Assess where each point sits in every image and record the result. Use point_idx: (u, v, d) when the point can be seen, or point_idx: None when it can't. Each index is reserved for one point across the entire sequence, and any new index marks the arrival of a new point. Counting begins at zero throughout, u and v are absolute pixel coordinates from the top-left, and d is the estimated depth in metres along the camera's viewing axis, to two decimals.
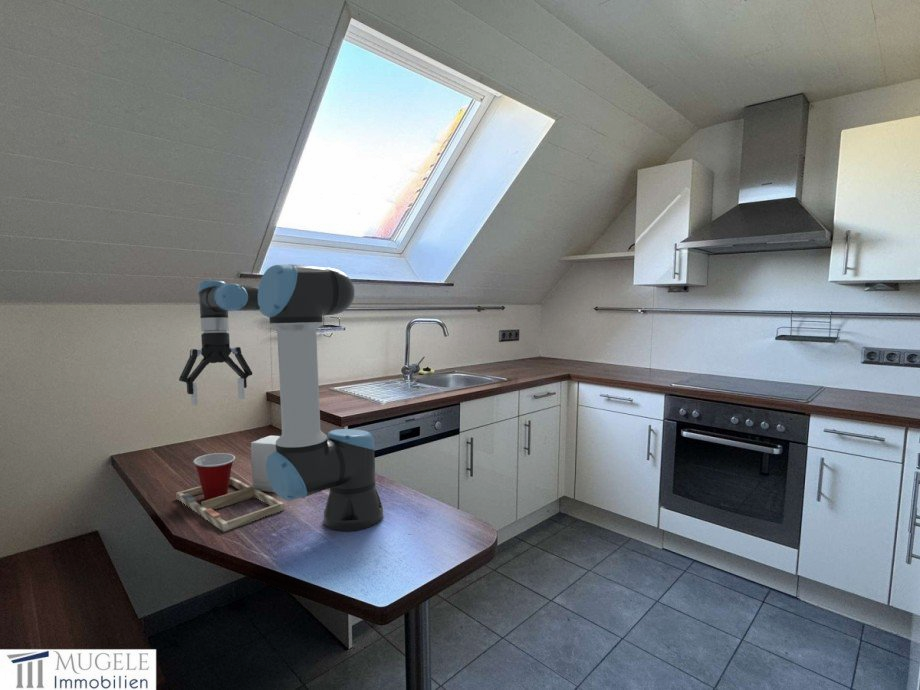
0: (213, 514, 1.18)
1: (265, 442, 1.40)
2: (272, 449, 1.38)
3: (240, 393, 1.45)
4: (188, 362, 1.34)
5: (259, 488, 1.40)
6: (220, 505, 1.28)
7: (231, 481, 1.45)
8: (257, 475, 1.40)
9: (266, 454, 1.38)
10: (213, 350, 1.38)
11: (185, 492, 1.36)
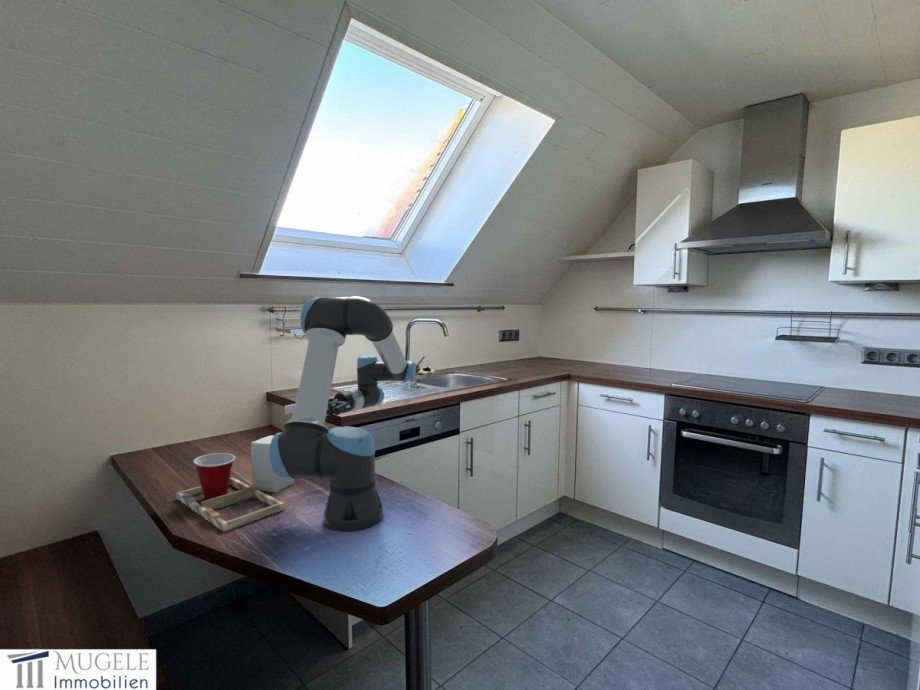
0: (213, 514, 1.18)
1: (265, 442, 1.40)
2: None
3: None
4: None
5: (259, 488, 1.40)
6: (220, 505, 1.28)
7: (231, 481, 1.45)
8: (257, 475, 1.40)
9: (266, 454, 1.38)
10: (333, 400, 1.64)
11: (185, 492, 1.36)
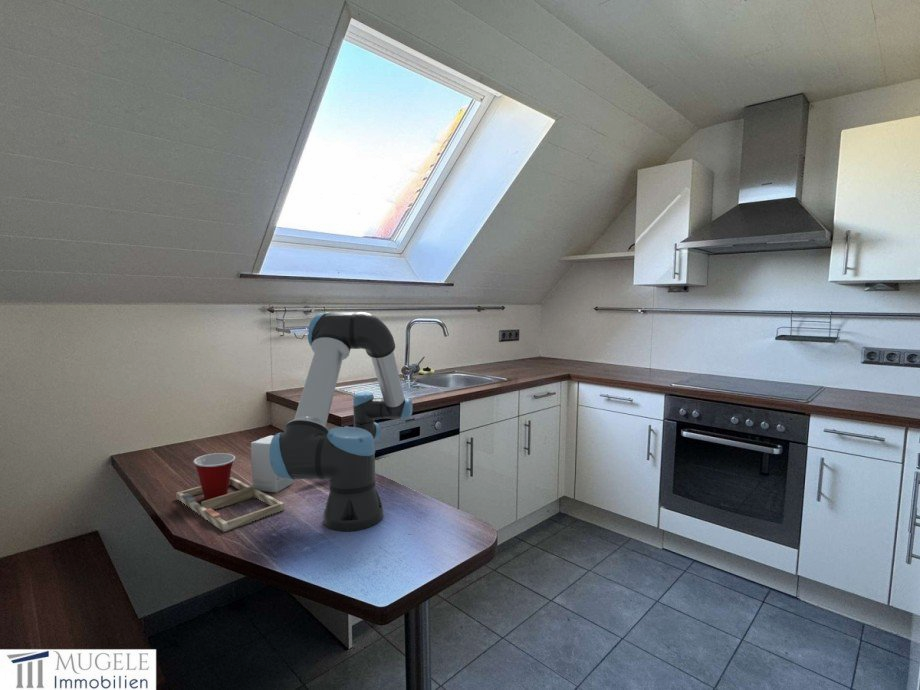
0: (213, 514, 1.18)
1: (265, 442, 1.40)
2: None
3: None
4: None
5: (259, 488, 1.40)
6: (220, 505, 1.28)
7: (231, 481, 1.45)
8: (257, 475, 1.40)
9: (266, 454, 1.38)
10: None
11: (185, 492, 1.36)
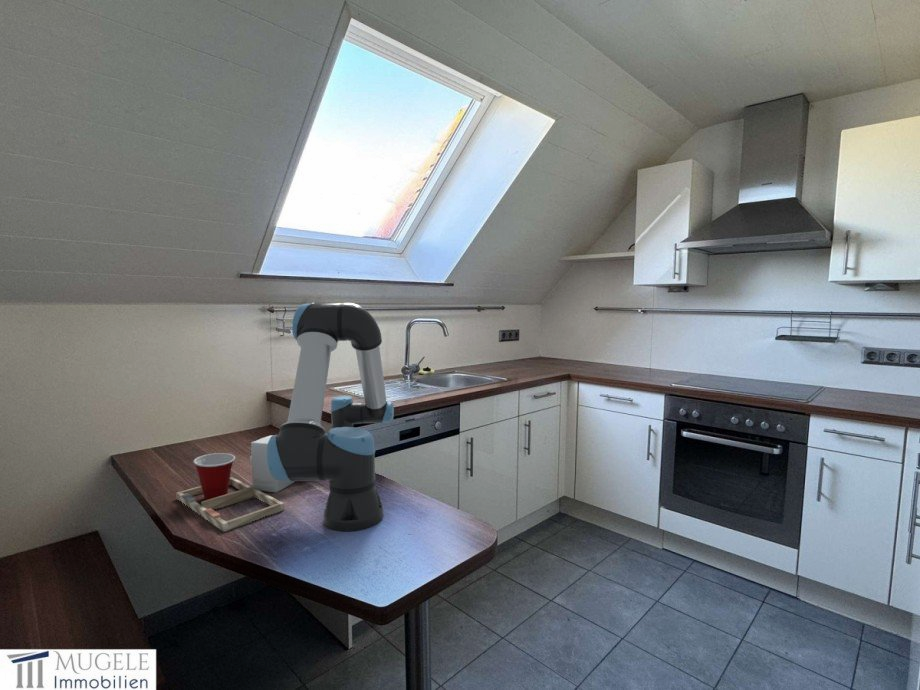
0: (213, 514, 1.18)
1: (265, 442, 1.40)
2: None
3: None
4: None
5: (259, 488, 1.40)
6: (220, 505, 1.28)
7: (231, 481, 1.45)
8: (257, 475, 1.40)
9: (266, 454, 1.38)
10: None
11: (185, 492, 1.36)
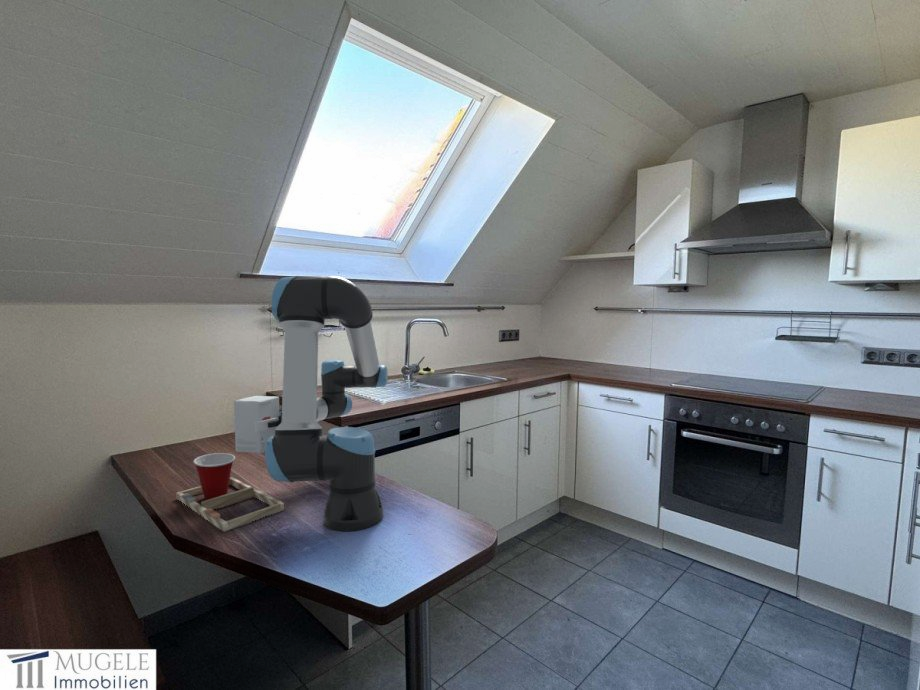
0: (213, 514, 1.18)
1: (249, 400, 1.31)
2: (256, 406, 1.29)
3: None
4: None
5: (242, 449, 1.31)
6: (220, 505, 1.28)
7: (231, 481, 1.45)
8: (240, 435, 1.31)
9: (250, 412, 1.30)
10: None
11: (185, 492, 1.36)
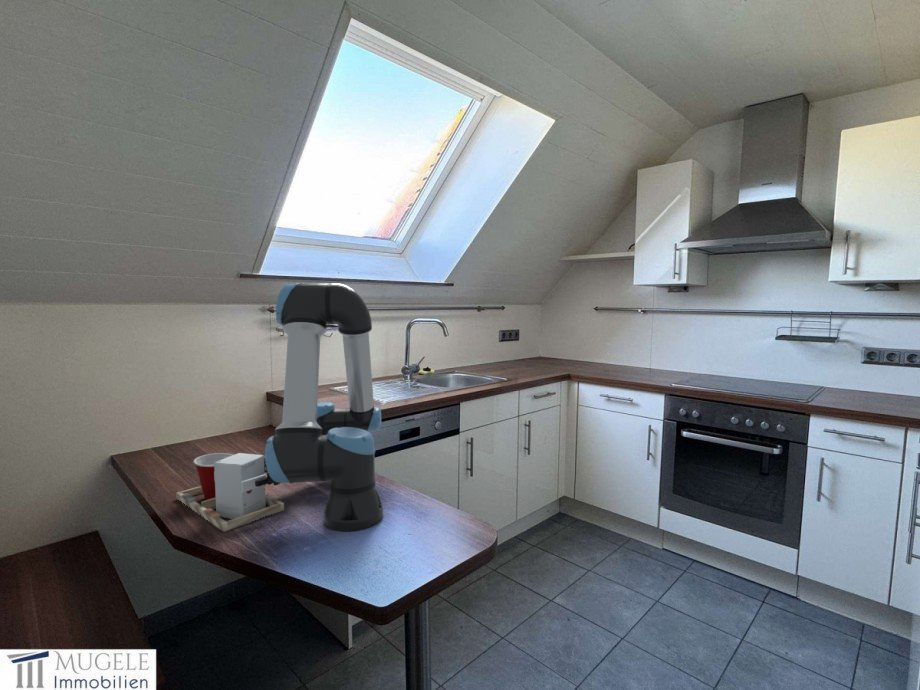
0: (213, 514, 1.18)
1: (231, 462, 1.21)
2: (238, 470, 1.19)
3: None
4: None
5: (224, 515, 1.22)
6: None
7: None
8: (221, 499, 1.21)
9: (231, 476, 1.20)
10: None
11: (185, 492, 1.36)
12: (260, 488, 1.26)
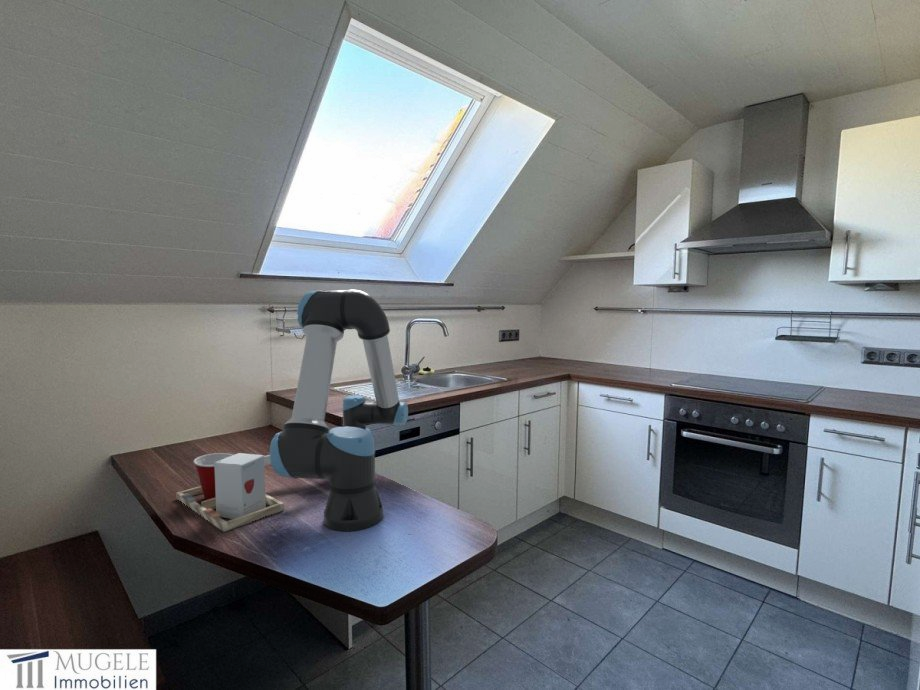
0: (213, 514, 1.18)
1: (231, 462, 1.21)
2: (238, 470, 1.19)
3: None
4: None
5: (224, 515, 1.22)
6: None
7: None
8: (221, 499, 1.21)
9: (231, 476, 1.20)
10: None
11: (185, 492, 1.36)
12: (260, 488, 1.26)
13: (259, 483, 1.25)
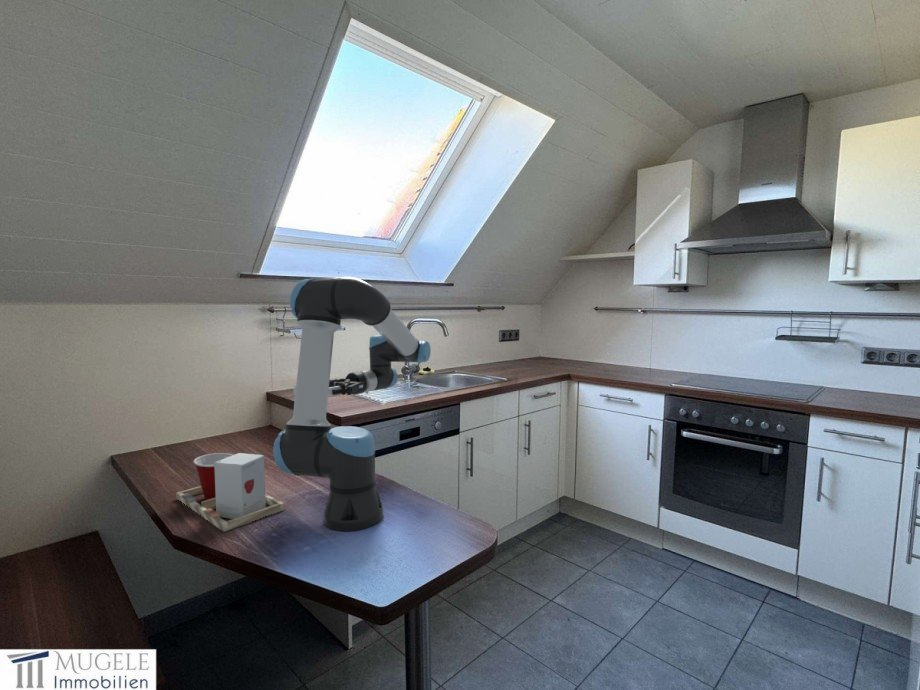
0: (213, 514, 1.18)
1: (231, 462, 1.21)
2: (238, 470, 1.19)
3: None
4: None
5: (224, 515, 1.22)
6: None
7: None
8: (221, 499, 1.21)
9: (231, 476, 1.20)
10: (345, 380, 1.54)
11: (185, 492, 1.36)
12: (260, 488, 1.26)
13: (259, 483, 1.25)
